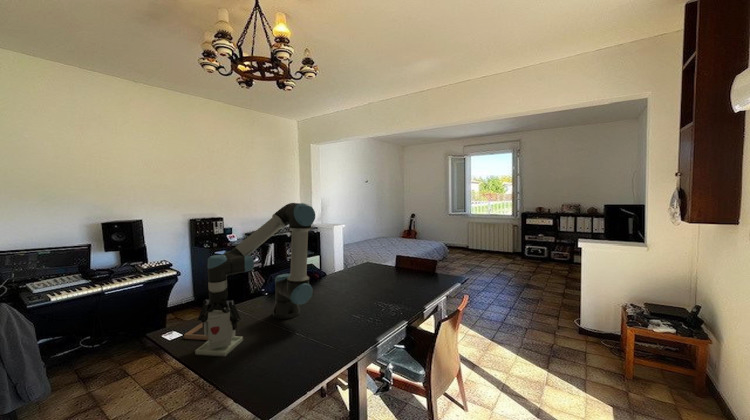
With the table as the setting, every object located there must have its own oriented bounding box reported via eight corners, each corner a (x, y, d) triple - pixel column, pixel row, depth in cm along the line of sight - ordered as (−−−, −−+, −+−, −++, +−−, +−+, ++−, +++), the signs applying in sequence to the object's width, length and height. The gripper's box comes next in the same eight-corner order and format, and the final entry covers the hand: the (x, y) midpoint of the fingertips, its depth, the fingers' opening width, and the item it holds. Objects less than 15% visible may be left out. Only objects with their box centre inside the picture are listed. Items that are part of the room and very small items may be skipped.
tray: (243, 340, 143) (242, 336, 143) (225, 356, 129) (225, 352, 129) (215, 338, 145) (215, 335, 145) (195, 354, 131) (195, 350, 131)
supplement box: (208, 350, 131) (207, 317, 130) (209, 341, 139) (207, 309, 138) (231, 345, 135) (230, 312, 134) (230, 336, 143) (229, 306, 142)
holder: (231, 326, 158) (231, 322, 158) (212, 340, 144) (212, 336, 143) (205, 324, 160) (205, 320, 160) (184, 338, 145) (184, 334, 145)
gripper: (247, 287, 138) (249, 333, 139) (199, 286, 141) (201, 330, 142) (238, 293, 130) (240, 341, 132) (187, 291, 133) (189, 338, 135)
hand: (220, 335), depth 137 cm, fingers closed on supplement box, 12 cm apart
